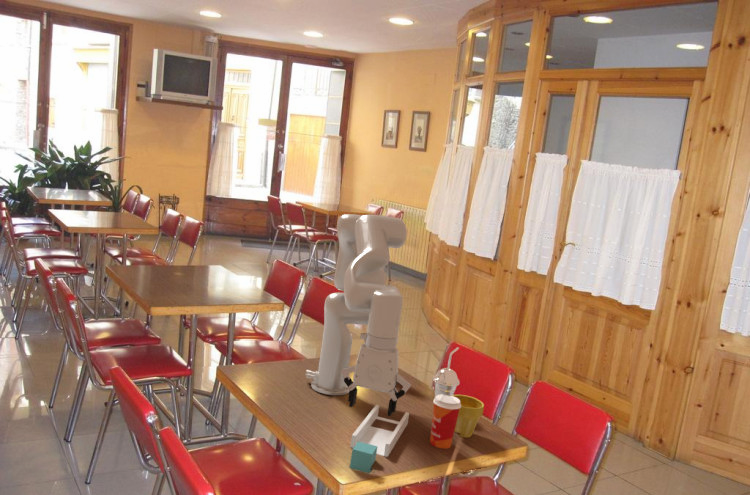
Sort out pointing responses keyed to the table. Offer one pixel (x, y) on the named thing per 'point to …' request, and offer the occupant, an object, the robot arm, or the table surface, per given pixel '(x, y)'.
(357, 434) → the trap channel
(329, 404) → the table surface
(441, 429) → the paper cup
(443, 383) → the cup with straw
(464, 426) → the plant pot
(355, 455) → the teal block
